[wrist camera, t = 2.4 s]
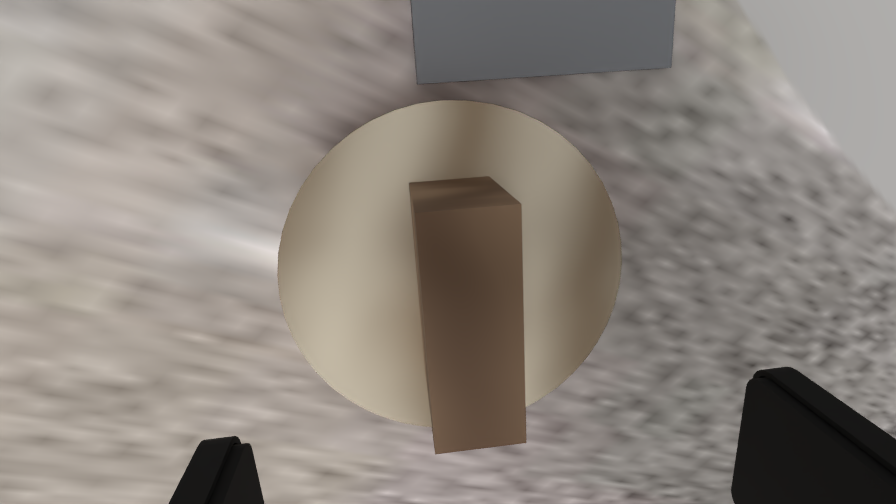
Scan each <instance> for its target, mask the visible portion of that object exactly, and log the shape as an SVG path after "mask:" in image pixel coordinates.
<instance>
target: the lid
mask: <svg viewBox="0 0 896 504" xmlns="http://www.w3.org/2000/svg"><path fill="white" fill-rule="evenodd" d="M621 265H622V257H621V239H620V233H619V227H618V221H617V218H616V215H615V212H614V208H613V205H612V202H611V200H610V198H609V196H608V193H607V191H606V189H605V187H604V185H603V183H602V181H601V180H600V178H599V177H598V175H597V174H596V172H595V171H594V169H593V168H592V166H591V165H590V163H589V162H588V161H587V160H586V159H585V158H584V157H583V155H582V154H581V153H580V152H579V151H578V150H577V149H576V148H575V147H574V146H573V145H572V144H571V143H570V142H568V141H567V140H566V139H565V138H564V137H562V136H561V135H560V134H559V133H558V132H556V131H554V130H553V129H551V128H550V127H548V126H546V125H545V124H543V123H542V122H540V121H538V120H536V119H534V118H532V117H529V116H527V115H525V114H523V113H520V112H518V111H516V110H512V109H509V108H505V107H502V106H498V105H495V104H489V103H481V102H474V101H467V100H439V101H432V102H425V103H418V104H414V105H410V106H407V107H403V108H400V109H396V110H393V111H391V112H389V113H386V114H384V115H382V116H380V117H377V118H375V119H373V120H371V121H369V122H368V123H366V124H365V125H363V126H361V127H360V128H358V129H356V130H355V131H353V132H352V133H351V134H349V135H348V136H347V137H346V138H344V139H343V140H342V141H341V142H339V143H338V144H337V145H336V146H335V147H334V148H333V149H331V151H330V152H329V153H328V154H327V155H326V156H325V157H324V158H323V159H322V160H321V161H320V162H319V163H318V165H317V166H316V167H315V168H314V169H313V171H312V172H311V173H310V175H309V176H308V178H307V179H306V181H305V182H304V184H303V185H302V186H301V188H300V190H299V192H298V194H297V196H296V198H295V200H294V202H293V204H292V206H291V208H290V210H289V213H288V216H287V219H286V222H285V225H284V228H283V231H282V236H281V242H280V247H279V252H278V275H277V276H278V285H279V295H280V300H281V304H282V308H283V312H284V316H285V319H286V322H287V324H288V327H289V329H290V332H291V334H292V337H293V339H294V340H295V342H296V344H297V346H298V347H299V349H300V351H301V353H302V354H303V356H304V357H305V359H306V360H307V361H308V362H309V364H310V365H311V366H312V368H313V369H314V370H315V371H316V373H317V374H318V375H319V376H320V377H321V378H322V379H323V380H324V381H326V382H327V383H328V384H329V385H330V386H331V387H332V388H333V389H334V390H336V391H337V392H338V393H340V394H341V395H342V396H344V397H345V398H346V399H348V400H349V401H351V402H353V403H355V404H356V405H358V406H360V407H362V408H363V409H365V410H367V411H370V412H372V413H375V414H377V415H379V416H382V417H384V418H388V419H391V420H395V421H398V422H402V423H406V424H412V425H418V426H425V427H432V431H433V440H434V448H435V454H441V453H449V452H457V451H465V450H473V449H481V448H489V447H497V446H505V445H513V444H521V443H526V407H527V406H529V405H531V404H533V403H534V402H536V401H538V400H540V399H541V398H543V397H544V396H546V395H547V394H548V393H550V392H551V391H553V390H554V389H556V388H557V387H558V386H559V385H560V384H561V383H563V382H564V381H565V380H566V379H567V378H568V377H569V376H570V375H571V374H573V372H574V371H575V370H576V369H577V368H578V367H579V366H580V365H581V363H582V362H583V361H584V360H585V359H586V358H587V356H588V355H589V353H590V352H591V350H592V349H593V348H594V346H595V345H596V343H597V342H598V340H599V338H600V336H601V334H602V333H603V331H604V329H605V327H606V325H607V323H608V320H609V318H610V315H611V312H612V310H613V307H614V305H615V301H616V296H617V292H618V288H619V284H620V275H621Z"/></svg>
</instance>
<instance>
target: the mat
mask: <svg viewBox="0 0 896 504" xmlns="http://www.w3.org/2000/svg"><path fill="white" fill-rule="evenodd" d="M675 4H676V0H411V12H412V25H413V38H414V51H415V63H416V76H417V84H430V83H445V82H461V81H476V80H491V79H507V78H522V77H537V76H552V75H568V74H583V73H598V72H613V71H629V70H644V69H659V68H671V65H672V49H673V34H674V19H675Z"/></svg>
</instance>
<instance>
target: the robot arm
mask: <svg viewBox="0 0 896 504" xmlns="http://www.w3.org/2000/svg"><path fill="white" fill-rule="evenodd" d="M731 493H732V498H733V501H734V503H735V504H896V439H895V438H893V437H892V436H890V435H889V434H888V433H886V432H885V431H883V430H882V429H880V428H879V427H877V426H876V425H875V424H873V423H872V422H870V421H869V420H867V419H866V418H865V417H863V416H862V415H860V414H859V413H857V412H856V411H855V410H853V409H852V408H850V407H849V406H847V405H846V404H844V403H843V402H842V401H840V400H839V399H837V398H836V397H834V396H833V395H832V394H830V393H829V392H827V391H826V390H824V389H823V388H822V387H820V386H819V385H817V384H816V383H814V382H813V381H811V380H810V379H809V378H807V377H806V376H804V375H803V374H801V373H800V372H799V371H797V370H795V369H793V368H791V367H781V368H773V369H765V370H759V371H757V372H756V373H755V374H754V376H753V379H751V380H749V382H748V383H747V386H746V392H745V399H744V406H743V413H742V420H741V426H740V433H739V440H738V447H737V453H736V460H735V467H734V474H733V481H732V487H731ZM169 504H264V500H263V496H262V491H261V487H260V482H259V478H258V473H257V469H256V464H255V460H254V456H253V451H252V448H251V445H250V444H249V443H245V444H241V442H240V439H239V438H238V437H236V436H232V437H224V438H216V439H208V440H203V441H201V442H200V444H199V445H198V447H197V449H196V451H195V453H194V455H193V457H192V459H191V461H190V463H189V465H188V467H187V469H186V471H185V473H184V475H183V476H182V478H181V480H180V482H179V484H178V486H177V488H176V490H175V492H174V494H173V496H172V498H171V500H170V502H169Z"/></svg>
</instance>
